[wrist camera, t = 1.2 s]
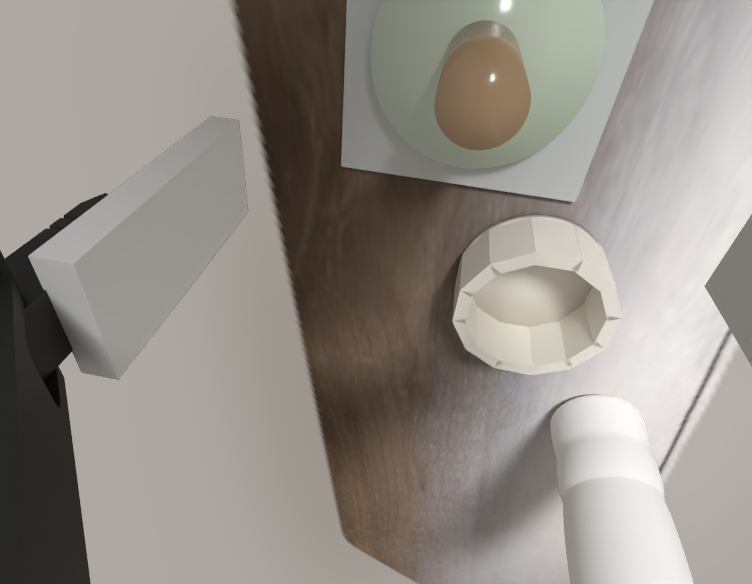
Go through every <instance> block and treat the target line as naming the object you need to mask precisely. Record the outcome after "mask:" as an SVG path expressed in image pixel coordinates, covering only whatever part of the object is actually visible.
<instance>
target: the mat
mask: <svg viewBox="0 0 752 584" xmlns="http://www.w3.org/2000/svg"><path fill="white" fill-rule="evenodd" d="M601 2H602V6H603V11H604V21H605V44H604V51H603V57H602V62H601V66H600V69H599V73H598V76H597V79H596V81H595V84H594V86H593V88H592V91H591V93H590V95H589V96H588V98H587V100H586V102H585V104H584V105H583V107H582V108H581V110H580V111H579V113H578V114H577V115H576V117H575V118H574V120H573V121H572V122H571V123H570V124H569V125H568V126H567V127H566V128H565V129H564V131H563V132H562V133H560V134H559V135H558V136H557V137H556V138H555V139H554V140H552V141H551V142H550V143H549V144H547V145H546V146H544V147H543V148H541V149H540V150H538V151H537V152H535V153H533V154H531V155H529V156H527V157H525V158H523V159H520V160H518V161H516V162H513V163H510V164H506V165H502V166H498V167H492V168H481V169H470V168H459V167H455V166H450V165H446V164H443V163H440V162H438V161H435V160H433V159H431V158H429V157H427V156H425V155H423V154H422V153H420V152H419V151H417V150H416V149H414V148H413V147H412V146H410V145H409V144H408V143H407V142H406V141H405V140H404V139H403V138H402V137H401V136H400V135H399V134H398V133H397V132H396V131H395V129H394V128H393V126H392V125H391V124H390V122H389V121H388V119H387V118H386V116H385V114H384V112H383V110H382V108H381V106H380V103H379V100H378V98H377V95H376V92H375V88H374V84H373V80H372V72H371V41H372V33H373V28H374V24H375V20H376V16H377V13H378V11H379V8H380V6H381V3H382V0H347V12H346V41H345V69H344V98H343V126H342V155H341V167H348V168H354V169H361V170H367V171H374V172H380V173H387V174H393V175H400V176H407V177H413V178H420V179H426V180H433V181H439V182H446V183H453V184H459V185H466V186H472V187H479V188H485V189H492V190H498V191H505V192H512V193H518V194H525V195H531V196H538V197H544V198H551V199H558V200H564V201H571V202H576V200H577V197H578V195H579V192H580V190H581V187H582V185H583V182H584V179H585V177H586V174H587V172H588V169H589V166H590V164H591V161H592V159H593V156H594V154H595V151H596V148H597V146H598V143H599V141H600V138H601V136H602V133H603V130H604V128H605V125H606V123H607V120H608V118H609V115H610V112H611V110H612V107H613V105H614V102H615V99H616V97H617V94H618V92H619V89H620V87H621V84H622V81H623V79H624V76H625V74H626V71H627V69H628V66H629V63H630V61H631V58H632V56H633V53H634V51H635V48H636V45H637V43H638V40H639V38H640V35H641V33H642V30H643V27H644V25H645V22H646V20H647V17H648V14H649V12H650V9H651V7H652V4H653V2H654V0H601Z"/></svg>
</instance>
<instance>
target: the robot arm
mask: <svg viewBox="0 0 752 584" xmlns="http://www.w3.org/2000/svg"><path fill="white" fill-rule="evenodd" d="M247 213H248V205H247V194H246V184H245V174H244V164H243V155H242V145H241V134H240V125H239V120H234V119H227V118H220V117H213V116H211V117H210V118H208V119H207V120H206V121H204V122H203V123H202V124H200V125H199V126H198V127H197V128H195V129H194V130H193V131H191V132H190V133H189V134H187V135H186V136H185V137H183V138H182V139H181V140H180V141H178V142H177V143H175V144H174V145H173V146H172V147H170V148H169V149H168V150H167V151H165V152H164V153H162V154H161V155H160V156H159V157H157V158H156V159H155V160H153V161H152V162H151V163H149V164H148V165H147V166H145V167H144V168H143V169H142V170H140V171H139V172H137V173H136V174H135V175H134V176H132V177H131V178H130V179H129V180H127V181H126V182H124V183H123V184H122V185H120V186H119V187H118V188H116V189H115V190H114V191H113V192H111V193H110V194H105V193H104V194H102V195H99V196H97V197H94V198H92V199H90V200H87V201H85V202H82V203H80V204H79V205H78V206H76V207H75V208H73V209H72V210H71V211H69V212H68V213H67V214H65V215H64V218H60V219H59V220H57V221H56V222H54V223H53V224H52V225H50V228H49V229H45V230H43V231H42V232H41V233H39V234H38V235H37V236H35V237H34V238H32V239H31V240H30V241H28V242H27V243H26V244H24V245H23V246H22V247H20V248H19V249H17V250H16V251H15V252H13V253H12V254H11V255H9V256H8V257H6V258H5V259H4V257H3V255H2V253H1V251H0V584H90V577H89V570H88V561H87V553H86V545H85V537H84V530H83V522H82V515H81V506H80V499H79V490H78V483H77V474H76V467H75V459H74V451H73V444H72V435H71V427H70V420H69V412H68V404H67V396H66V388H65V382H64V381H65V380H64V377H63V375H62V373H61V371H60V369H59V367H58V366H59V365H60V363H62V361H63V360H64V359H65V358H66V357H67V356H68V355H69V354H70V353H71V352H72V353H73V355H74V357H75V359H76V361H77V363H78V366H79V368H80V370H81V372H82V373H86V374H92V375H97V376H102V377H107V378H112V379H117V380H119V379H120V377H121V376H122V375H123V374H124V372H125V371H126V370H127V369H128V367H129V366H130V365H131V363H132V362H133V361H134V360H135V358H136V357H137V356H138V354H139V353H140V352H141V350H142V349H143V348H144V347H145V345H146V344H147V343H148V341H149V340H150V339H151V337H152V336H153V335H154V334H155V332H156V331H157V330H158V328H159V327H160V326H161V325H162V323H163V322H164V321H165V319H166V318H167V317H168V315H169V314H170V313H171V312H172V310H173V309H174V308H175V306H176V305H177V304H178V303H179V301H180V300H181V299H182V297H183V296H184V295H185V294H186V292H187V291H188V290H189V288H190V287H191V286H192V284H193V283H194V282H195V281H196V279H197V278H198V277H199V275H200V274H201V273H202V272H203V270H204V269H205V268H206V266H207V265H208V264H209V262H210V261H211V260H212V259H213V257H214V256H215V255H216V253H217V252H218V251H219V249H220V248H221V247H222V246H223V244H224V243H225V242H226V240H227V239H228V238H229V237H230V235H231V234H232V233H233V231H234V230H235V229H236V228H237V226H238V225H239V224H240V222H241V221H242V219H244V217H245V216H246V215H247ZM705 288H706V289H707V291H708V293H709V294H710V296H711V298H712V299H713V301H714V303H715V305H716V306H717V308H718V310H719V311H720V313H721V315H722V316H723V318H724V320H725V322H726V323H727V325H728V327H729V328H730V330H731V332H732V333H733V335H734V337H735V338H736V340H737V342H738V344H739V345H740V347H741V349H742V350H743V352H744V353H745V355H746V357H747V359H748V361H749V362H750V364H751V366H752V215H751V216H750V218H749V219H748V221H747V222H746V224H745V225H744V227H743V228H742V230H741V232H740V233H739V235H738V236H737V238H736V239H735V241H734V242H733V244H732V245H731V247H730V248H729V250H728V251H727V253H726V254H725V256H724V257H723V259H722V260H721V262H720V264H719V265H718V267H717V268H716V270H715V271H714V273H713V274H712V276H711V277H710V279H709V280H708V282H707V283H706V285H705Z"/></svg>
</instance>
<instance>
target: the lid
mask: <svg viewBox="0 0 752 584" xmlns="http://www.w3.org/2000/svg"><path fill="white" fill-rule="evenodd" d="M604 44H605V21H604V11H603V6H602V2H601V0H382V3H381V6H380V8H379V11H378V13H377V16H376V20H375V24H374V28H373V33H372V41H371V72H372V80H373V84H374V88H375V92H376V95H377V98H378V100H379V103H380V106H381V108H382V110H383V112H384V114H385V116H386V118H387V119H388V121H389V122H390V124H391V125H392V126H393V128H394V129H395V131H396V132H397V133H398V134H399V135H400V136H401V137H402V138H403V139H404V140H405V141H406V142H407V143H408V144H409V145H410V146H412V147H413V148H414V149H416V150H417V151H419V152H420V153H422V154H423V155H425V156H427V157H429V158H431V159H433V160H435V161H438V162H440V163H443V164H446V165H450V166H455V167H459V168H470V169H481V168H492V167H498V166H502V165H506V164H510V163H513V162H516V161H518V160H520V159H523V158H525V157H527V156H529V155H531V154H533V153H535V152H537V151H538V150H540V149H541V148H543V147H544V146H546V145H547V144H549V143H550V142H551V141H552V140H554V139H555V138H556V137H557V136H558V135H559V134H560V133H562V132H563V131H564V129H565V128H566V127H567V126H568V125H569V124H570V123H571V122H572V121H573V120H574V118H575V117H576V115H577V114H578V113H579V111H580V110H581V108H582V107H583V105H584V104H585V102H586V100H587V98H588V96H589V95H590V93H591V91H592V88H593V86H594V84H595V81H596V79H597V76H598V73H599V69H600V66H601V62H602V57H603V51H604Z"/></svg>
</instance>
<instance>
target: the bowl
mask: <svg viewBox="0 0 752 584" xmlns="http://www.w3.org/2000/svg"><path fill="white" fill-rule="evenodd" d="M622 319H623V317H622V313H621V308H620V304H619V299H618V295H617V290H616V286H615V283H614V280H613V277H612V274H611V271H610V268H609V265H608V262H607V259H606V256H605V253H604V251H603V248H602V247H601V246H600V245H599V244H598V243H597V241H596V240H595V239H594V238H593V236H592V235H591V234H589V233H588V232H587V231H586V230H585V229H583V228H582V227H580V226H579V225H577V224H575V223H573V222H571V221H569V220H566V219H563V218H560V217H555V216H550V215H523V216H517V217H513V218H509V219H506V220H503V221H500V222H498V223H496V224H494V225H492V226H490V227H488V228H487V229H485V230H484V231H482V232H481V233H480V234H479V235H478V236H476V237H475V238H474V239H473V240H472V242H471V243H470V244H469V245H468V247H467V248H466V249H465V251H464V253H463V254H462V257H461V260H460V263H459V268H458V274H457V279H456V283H455V293H454V306H453V319H452V322H453V324H454V326H455V328H456V330H457V332H458V335H459V337H460V339H461V341H462V343H463V345H464V347H465V349H466V350H467V351H469V352H470V353H472V354H474V355H475V356H477V357H478V358H480V359H481V360H483V361H484V362H486V363H487V364H489V365H490V366H492V367H493V368H496V369H501V370H507V371H512V372H518V373H523V374H529V375H537V374H543V373H549V372H555V371H561V370H567V369H573V368H575V367H576V366H578V365H580V364H581V363H583V362H585V361H586V360H588V359H590V358H591V357H593V356H595V355H596V354H598V353H599V352H601V351H603V350H604V349H606V348H607V346H608V344H609V342H610V340H611V339H612V337H613V335H614V333H615V331H616V330H617V328H618V326H619V324H620V322H621V321H622Z"/></svg>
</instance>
